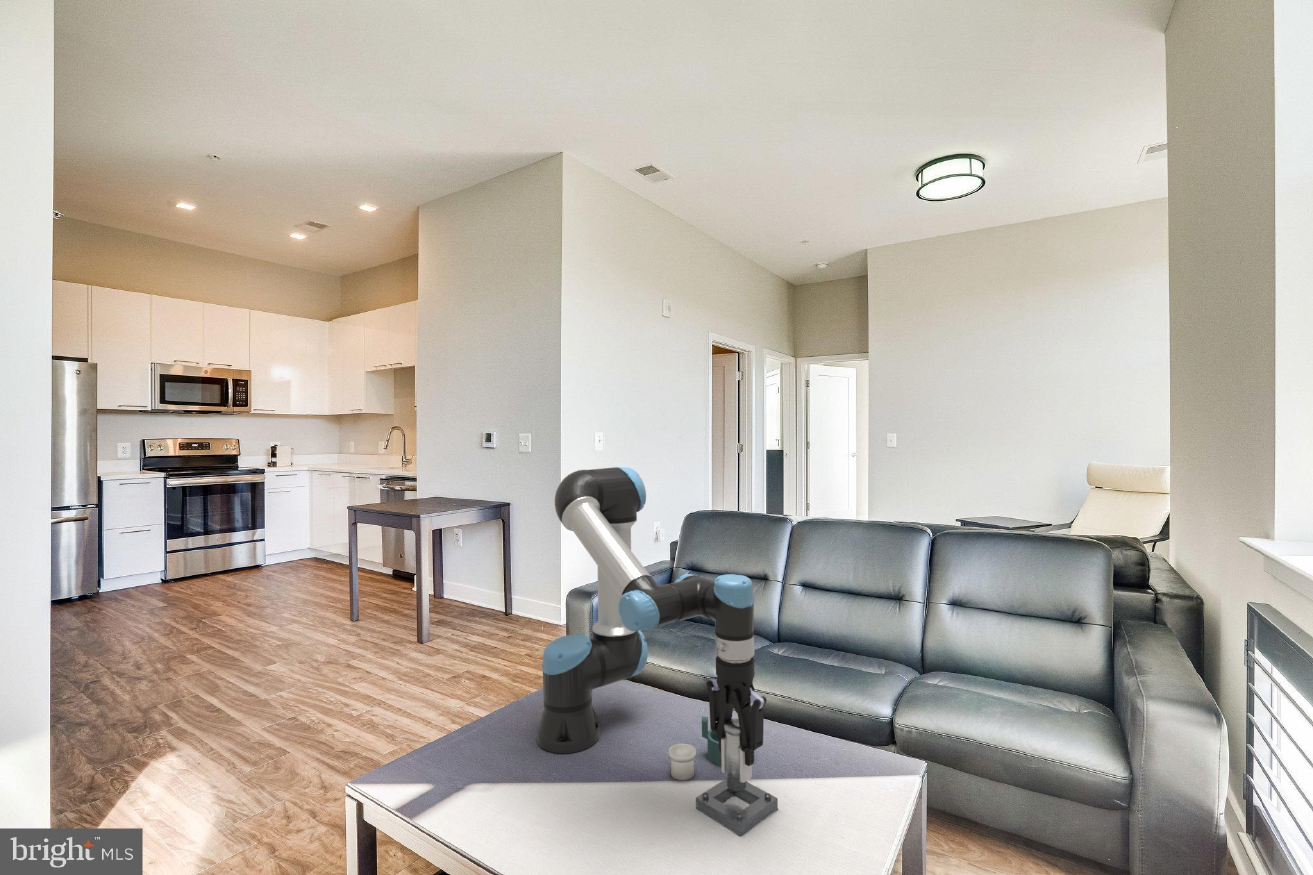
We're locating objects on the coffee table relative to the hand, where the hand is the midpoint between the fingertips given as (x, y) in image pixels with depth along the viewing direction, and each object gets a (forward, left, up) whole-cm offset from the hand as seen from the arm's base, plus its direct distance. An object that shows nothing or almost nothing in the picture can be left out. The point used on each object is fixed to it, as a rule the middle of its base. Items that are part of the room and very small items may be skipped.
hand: (736, 774), depth 120 cm
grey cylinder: (0, 0, -2) cm, 2 cm away
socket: (0, 0, -7) cm, 7 cm away
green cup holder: (-14, +13, -7) cm, 20 cm away
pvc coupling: (-16, +1, -7) cm, 18 cm away
